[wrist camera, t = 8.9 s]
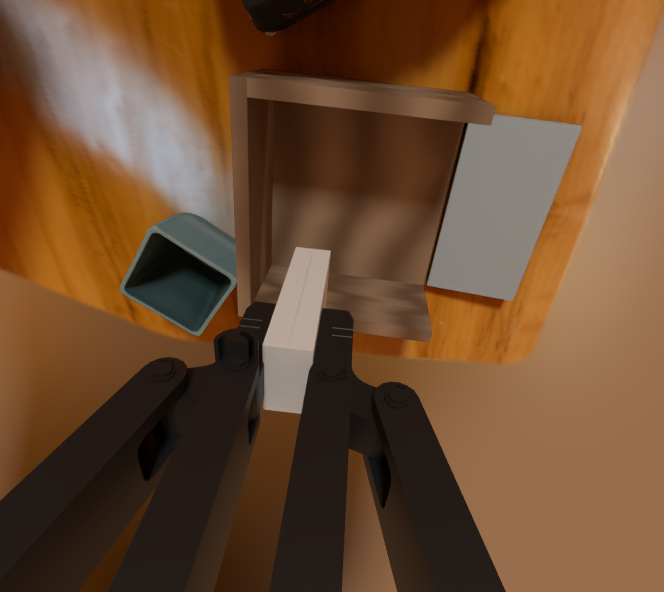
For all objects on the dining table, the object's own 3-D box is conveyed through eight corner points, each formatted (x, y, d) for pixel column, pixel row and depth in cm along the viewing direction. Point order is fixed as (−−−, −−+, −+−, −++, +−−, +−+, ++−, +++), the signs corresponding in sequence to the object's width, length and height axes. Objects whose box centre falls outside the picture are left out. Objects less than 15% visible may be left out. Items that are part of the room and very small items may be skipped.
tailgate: (426, 285, 43) (512, 301, 42) (471, 112, 34) (582, 127, 33) (426, 280, 44) (510, 295, 43) (470, 110, 35) (577, 124, 34)
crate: (262, 269, 46) (238, 316, 38) (263, 68, 35) (229, 75, 27) (420, 289, 45) (429, 342, 37) (469, 92, 35) (496, 106, 27)
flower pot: (226, 293, 48) (197, 339, 41) (159, 251, 46) (116, 292, 39) (263, 240, 44) (239, 280, 36) (191, 191, 42) (150, 223, 34)
